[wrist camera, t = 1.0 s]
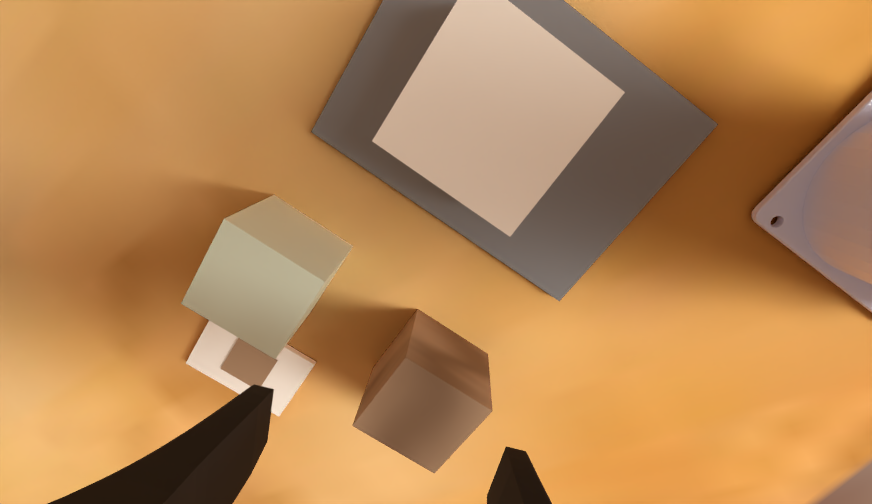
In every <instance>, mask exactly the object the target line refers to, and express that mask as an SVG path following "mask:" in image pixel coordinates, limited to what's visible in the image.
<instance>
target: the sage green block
mask: <svg viewBox="0 0 872 504" xmlns="http://www.w3.org/2000/svg"><path fill="white" fill-rule="evenodd" d="M352 248H353V245H351V244H350V243H348V242H346V241H345V240H343V239H342V238H340V237H339V236H337V235H336V234H334V233H333V232H331V231H329V230H328V229H326V228H325V227H323V226H322V225H320V224H319V223H317V222H316V221H314V220H313V219H311V218H309V217H308V216H306V215H305V214H303V213H302V212H300V211H299V210H297V209H296V208H294V207H292V206H291V205H289V204H288V203H286V202H285V201H283V200H282V199H280V198H279V197H277V196H276V195H272V196H270V197H268V198H266V199H264V200H262V201H260V202H258V203H256V204H254V205H251V206H249V207H247V208H245V209H243V210H241V211H239V212H237V213H235V214H233V215H231V216H229V217H226V218H224V220H223V222H222V224H221V226H220V228H219V230H218V232H217V234H216V236H215V238H214V239H213V241H212V243H211V245H210V247H209V249H208V251H207V253H206V255H205V257H204V259H203V261H202V263H201V265H200V267H199V269H198V271H197V273H196V275H195V277H194V279H193V281H192V283H191V285H190V287H189V289H188V291H187V293H186V295H185V297H184V299H183V301H182V303H181V304H182V305H184V306H186V307H187V308H189V309H191V310H192V311H194V312H196V313H197V314H199V315H201V316H203V317H204V318H206V319H208V320H209V321H211V322H213V323H214V324H216V325H218V326H220V327H221V328H223V329H225V330H226V331H228V332H230V333H231V334H233V335H235V336H236V337H238V338H240V339H242V340H243V341H245V342H247V343H248V344H250V345H252V346H253V347H255V348H257V349H259V350H260V351H262V352H264V353H265V354H267V355H269V356H270V357H272V358H274V359H276V358H277V356H278V355H279V354H280V352H281V351H282V350H283V348H284V347H285V346H286V344H287V343H288V342H289V340H290V339H291V338H292V336H293V335H294V334H295V332H296V331H297V330H298V328H299V327H300V326H301V324H302V323H303V322H304V320H305V319H306V318H307V316H308V315H309V314H310V312H311V311H312V309H313V308H314V306H315V305H316V303H317V302H318V300H319V299H320V297H321V295H322V294H323V292H324V291H325V289H326V288H327V286H328V285H329V283H330V282H331V280H332V278H333V277H334V275H335V274H336V272H337V271H338V269H339V268H340V266H341V265H342V263H343V261H344V260H345V258H346V257H347V255H348V254H349V252H350V251H351V249H352Z"/></svg>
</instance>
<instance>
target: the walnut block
mask: <svg viewBox="0 0 872 504" xmlns="http://www.w3.org/2000/svg"><path fill="white" fill-rule="evenodd" d="M491 412H492V400H491V387H490V375H489V362H488V354H487V353H486V352H484V351H482V350H481V349H479V348H478V347H476V346H475V345H473V344H472V343H470V342H468V341H467V340H465V339H464V338H462V337H461V336H459V335H457V334H456V333H454V332H453V331H451V330H450V329H448V328H447V327H445V326H443V325H442V324H440V323H439V322H437V321H436V320H434V319H432V318H431V317H429V316H428V315H426V314H425V313H423V312H422V311H420V310H418V309H417V310H416V312H415V313H414V314H413V316H412V317H411V318H410V320H409V321H408V322H407V324H406V325H405V326H404V328H403V329H402V330H401V332H400V333H399V334H398V336H397V337H396V338H395V340H394V341H393V342H392V343H391V345H390V346H389V347H388V349H387V350H386V351H385V353H384V354H383V355H382V357H381V358H380V359H379V361H378V362H377V363H376V365H375V366H374V367H373V369H372V372H371V375H370V378H369V381H368V383H367V386H366V389H365V392H364V395H363V397H362V400H361V403H360V406H359V409H358V411H357V414H356V417H355V420H354V423H353V425H352V426H354V427H355V428H357V429H359V430H360V431H362V432H364V433H366V434H367V435H369V436H371V437H373V438H374V439H376V440H378V441H379V442H381V443H383V444H385V445H386V446H388V447H390V448H391V449H393V450H395V451H397V452H398V453H400V454H402V455H404V456H405V457H407V458H409V459H410V460H412V461H414V462H416V463H417V464H419V465H421V466H422V467H424V468H426V469H428V470H429V471H431V472H433V473H435V472H436V471H437V470H438V469H439V468H440V467H441V466H442V465H443V464H444V463H445V461H446V460H447V459H448V458H449V457H450V456H451V455H452V454H453V453H454V452H455V451H456V450H457V449H458V447H459V446H460V445H461V444H462V443H463V442H464V441H465V440H466V439H467V438H468V437H469V436H470V435H471V433H472V432H473V431H474V430H475V429H476V428H477V427H478V426H479V425H480V424H481V423H482V422H483V421H484V420H485V418H486V417H487V416H488V415H489V414H490V413H491Z"/></svg>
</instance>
